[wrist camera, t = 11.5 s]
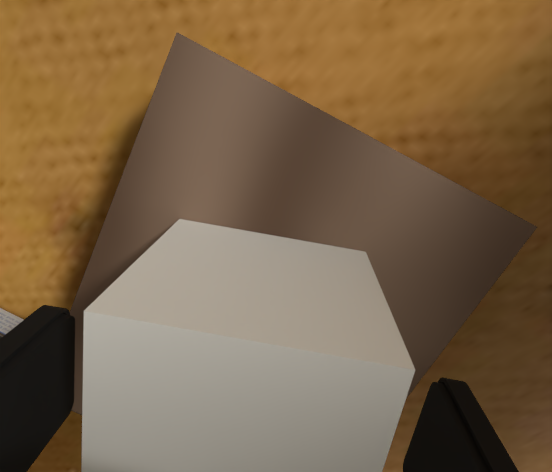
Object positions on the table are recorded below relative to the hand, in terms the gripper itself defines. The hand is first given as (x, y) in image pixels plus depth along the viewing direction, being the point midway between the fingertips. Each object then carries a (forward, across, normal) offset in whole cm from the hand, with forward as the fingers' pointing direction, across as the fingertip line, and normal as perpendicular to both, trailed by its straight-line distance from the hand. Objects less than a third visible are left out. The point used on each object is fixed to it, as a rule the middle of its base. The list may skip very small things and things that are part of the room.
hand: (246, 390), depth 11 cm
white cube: (+4, 0, 0) cm, 4 cm away
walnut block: (+9, 0, 0) cm, 9 cm away
